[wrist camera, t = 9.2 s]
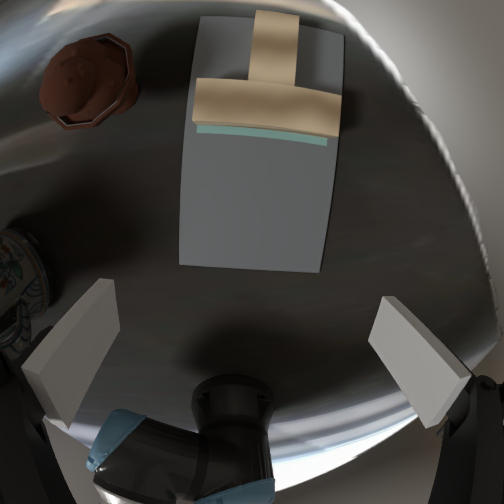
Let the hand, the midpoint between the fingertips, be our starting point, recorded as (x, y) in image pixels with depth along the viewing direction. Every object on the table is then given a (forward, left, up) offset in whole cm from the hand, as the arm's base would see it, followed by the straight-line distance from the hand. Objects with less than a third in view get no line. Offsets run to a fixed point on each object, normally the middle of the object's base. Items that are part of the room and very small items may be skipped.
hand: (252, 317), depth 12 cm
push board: (+10, -2, -23) cm, 25 cm away
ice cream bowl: (+15, +17, -24) cm, 33 cm away
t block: (+18, -2, -23) cm, 29 cm away
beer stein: (-11, +36, -24) cm, 45 cm away
